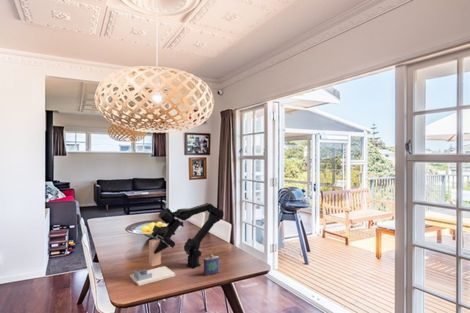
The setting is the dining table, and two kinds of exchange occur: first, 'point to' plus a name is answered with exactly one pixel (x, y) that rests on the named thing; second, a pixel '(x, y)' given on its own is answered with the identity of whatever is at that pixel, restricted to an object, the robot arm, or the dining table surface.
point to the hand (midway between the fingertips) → (152, 252)
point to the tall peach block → (153, 258)
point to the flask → (211, 265)
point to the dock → (151, 275)
